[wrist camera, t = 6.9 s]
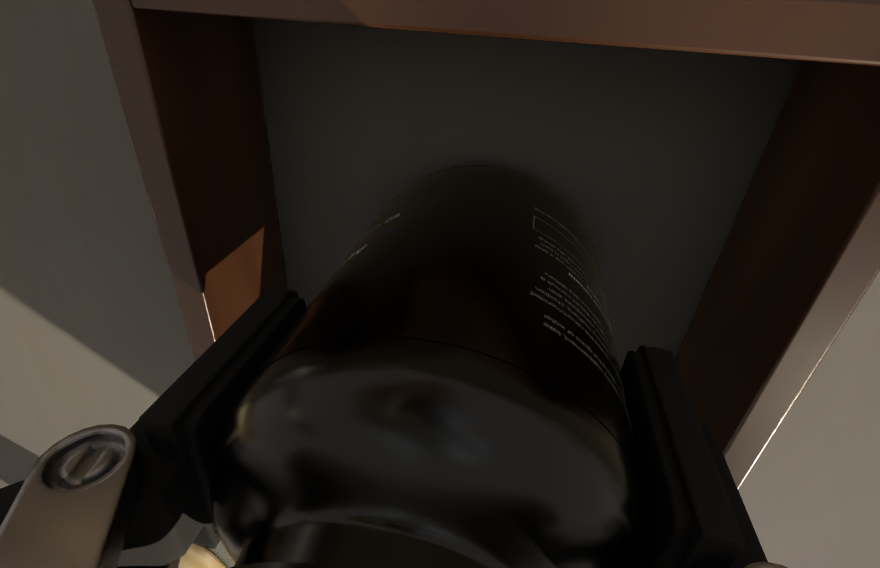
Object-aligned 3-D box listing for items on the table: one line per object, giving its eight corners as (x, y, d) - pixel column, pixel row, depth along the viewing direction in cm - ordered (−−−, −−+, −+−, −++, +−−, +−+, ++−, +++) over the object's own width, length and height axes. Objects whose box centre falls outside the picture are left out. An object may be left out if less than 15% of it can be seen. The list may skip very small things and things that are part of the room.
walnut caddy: (867, 11, 9) (1051, 10, 6) (652, 467, 17) (680, 580, 14) (215, -31, 11) (75, -49, 8) (285, 397, 19) (229, 481, 15)
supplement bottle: (355, 164, 13) (-278, 678, 3) (605, 153, 12) (1026, 1063, 2) (390, 353, 16) (149, 893, 6) (587, 362, 15) (683, 1078, 5)
